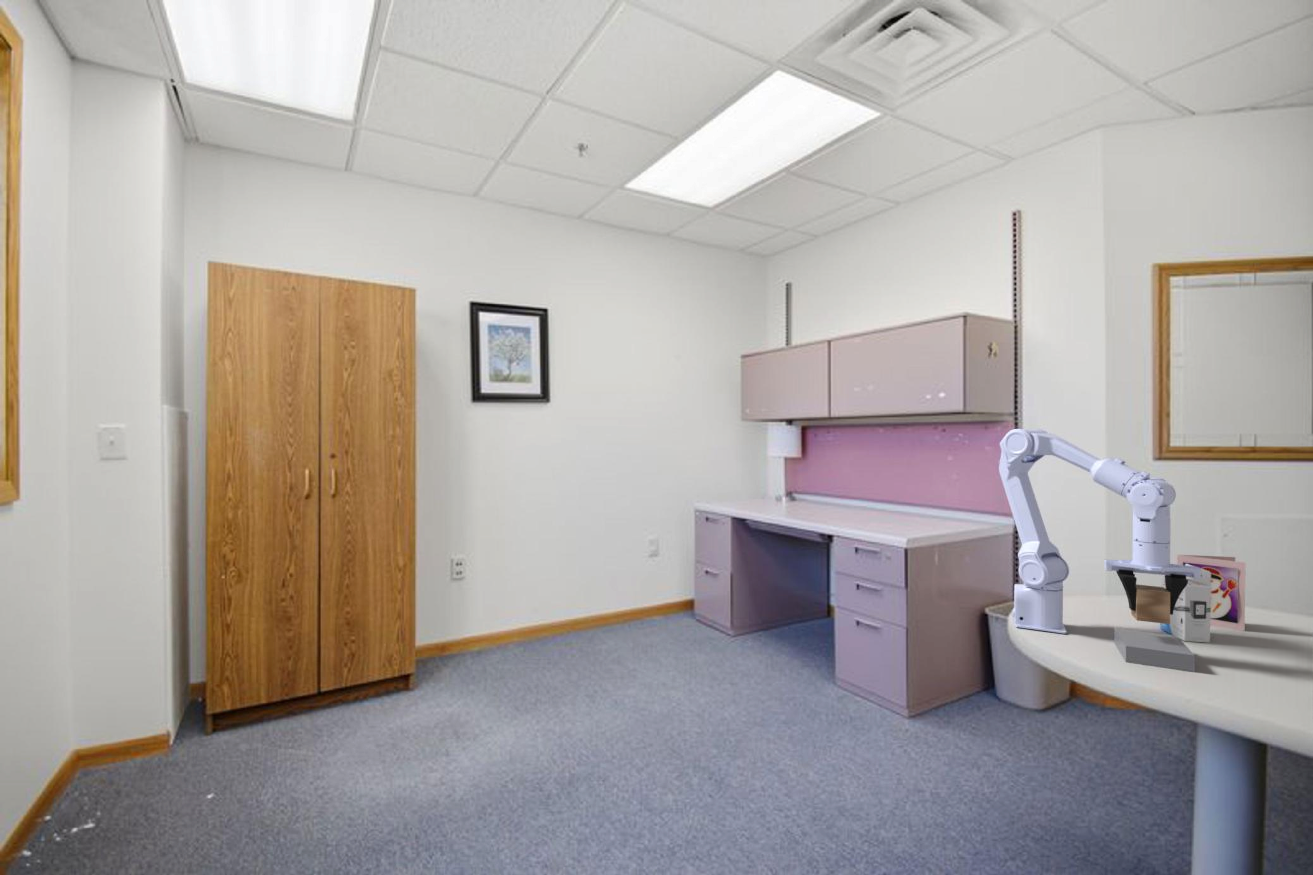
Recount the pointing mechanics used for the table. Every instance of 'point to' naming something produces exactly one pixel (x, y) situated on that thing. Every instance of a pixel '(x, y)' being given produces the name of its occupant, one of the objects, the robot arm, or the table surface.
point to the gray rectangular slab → (1154, 649)
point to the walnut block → (1152, 604)
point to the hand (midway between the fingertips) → (1150, 611)
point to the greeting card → (1223, 588)
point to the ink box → (1192, 610)
